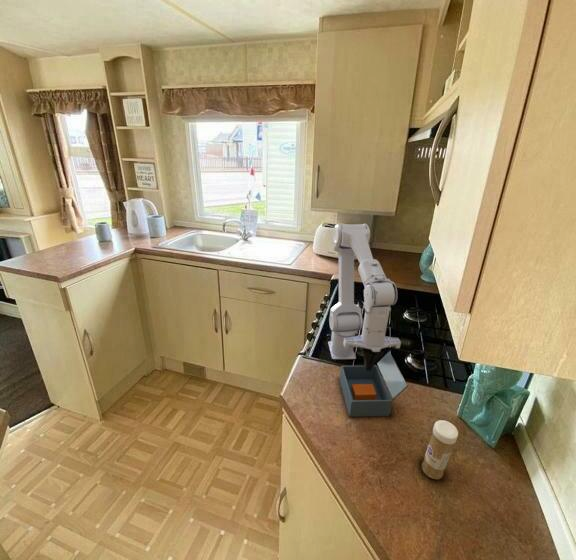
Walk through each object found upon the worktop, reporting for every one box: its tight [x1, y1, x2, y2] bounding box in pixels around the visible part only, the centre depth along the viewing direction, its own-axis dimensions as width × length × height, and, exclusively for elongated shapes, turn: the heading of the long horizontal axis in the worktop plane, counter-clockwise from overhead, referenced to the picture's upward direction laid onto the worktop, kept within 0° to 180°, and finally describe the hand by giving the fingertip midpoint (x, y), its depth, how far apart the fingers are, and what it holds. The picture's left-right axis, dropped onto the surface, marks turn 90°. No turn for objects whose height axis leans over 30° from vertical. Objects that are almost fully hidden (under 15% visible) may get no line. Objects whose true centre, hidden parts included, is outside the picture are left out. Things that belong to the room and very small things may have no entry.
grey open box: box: [339, 364, 394, 418], centre depth 88 cm, size 14×11×5 cm
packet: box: [351, 384, 377, 400], centre depth 89 cm, size 6×4×2 cm, turn 93°
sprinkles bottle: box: [421, 419, 459, 480], centre depth 67 cm, size 5×5×14 cm
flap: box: [376, 351, 409, 400], centre depth 86 cm, size 14×5×1 cm
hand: (367, 368), depth 85 cm, fingers closed
